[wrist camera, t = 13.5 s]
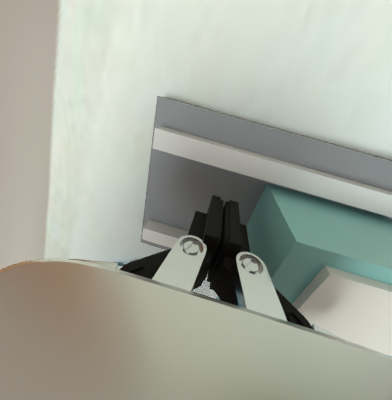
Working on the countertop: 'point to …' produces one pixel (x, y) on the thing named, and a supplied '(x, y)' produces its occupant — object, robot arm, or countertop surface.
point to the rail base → (246, 169)
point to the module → (328, 263)
